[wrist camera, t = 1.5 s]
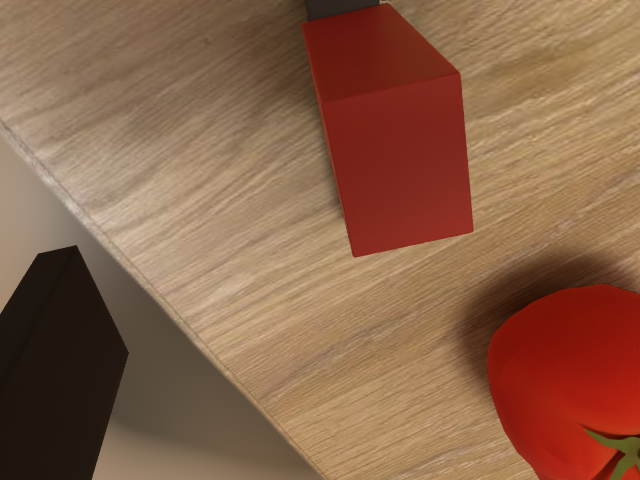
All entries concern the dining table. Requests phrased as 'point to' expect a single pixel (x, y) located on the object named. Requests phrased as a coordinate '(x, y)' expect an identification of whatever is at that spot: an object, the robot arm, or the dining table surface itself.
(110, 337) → the robot arm
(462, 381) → the dining table surface
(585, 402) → the tomato
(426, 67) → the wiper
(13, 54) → the dining table surface
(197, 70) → the dining table surface
